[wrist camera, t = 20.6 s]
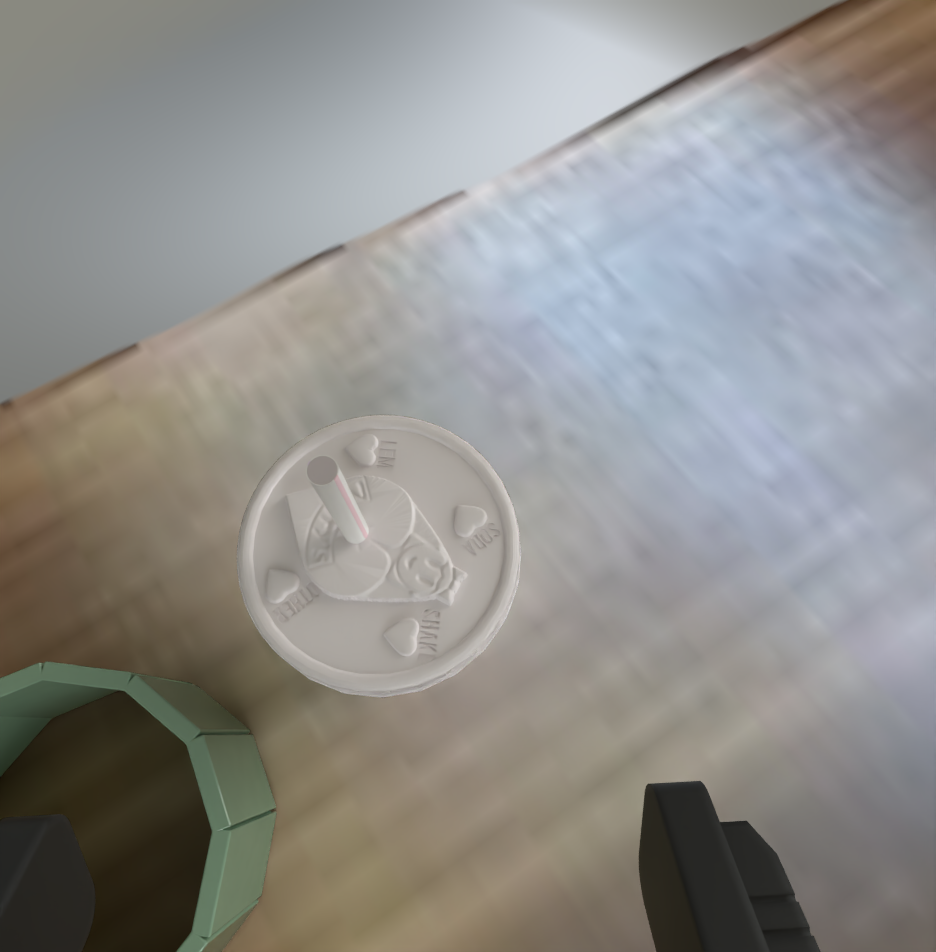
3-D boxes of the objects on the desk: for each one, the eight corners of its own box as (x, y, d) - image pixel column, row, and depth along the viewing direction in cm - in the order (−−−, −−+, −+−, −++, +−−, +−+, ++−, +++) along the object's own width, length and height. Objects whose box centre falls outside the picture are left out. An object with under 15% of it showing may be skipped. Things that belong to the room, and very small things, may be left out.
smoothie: (375, 487, 28) (291, 261, 14) (536, 572, 27) (605, 413, 13) (278, 649, 26) (78, 561, 12) (447, 745, 25) (424, 761, 12)
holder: (220, 632, 26) (165, 610, 21) (314, 923, 23) (275, 973, 18) (-61, 749, 25) (-186, 752, 20) (3, 1069, 22) (-124, 1162, 17)
